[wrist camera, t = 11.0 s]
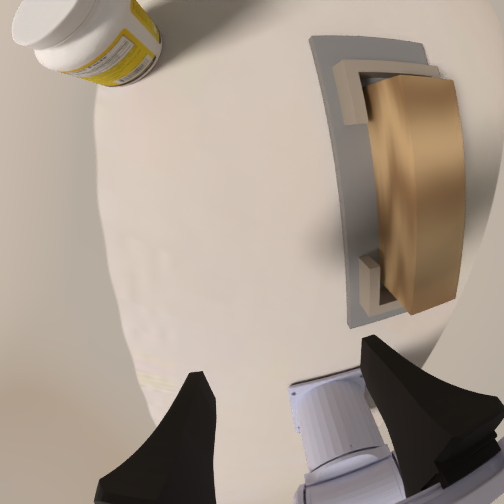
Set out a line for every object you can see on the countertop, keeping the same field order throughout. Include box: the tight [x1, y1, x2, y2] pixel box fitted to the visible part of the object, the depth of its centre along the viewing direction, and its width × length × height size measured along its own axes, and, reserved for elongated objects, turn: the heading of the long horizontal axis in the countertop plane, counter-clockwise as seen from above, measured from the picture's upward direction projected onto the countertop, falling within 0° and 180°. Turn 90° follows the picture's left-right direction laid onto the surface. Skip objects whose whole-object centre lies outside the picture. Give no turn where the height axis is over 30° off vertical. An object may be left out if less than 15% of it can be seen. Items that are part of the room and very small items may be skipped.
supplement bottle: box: [12, 0, 162, 87], centre depth 9 cm, size 5×5×10 cm
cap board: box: [309, 36, 440, 329], centre depth 17 cm, size 22×9×3 cm, turn 11°
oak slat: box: [362, 75, 465, 315], centre depth 15 cm, size 14×4×5 cm, turn 12°
